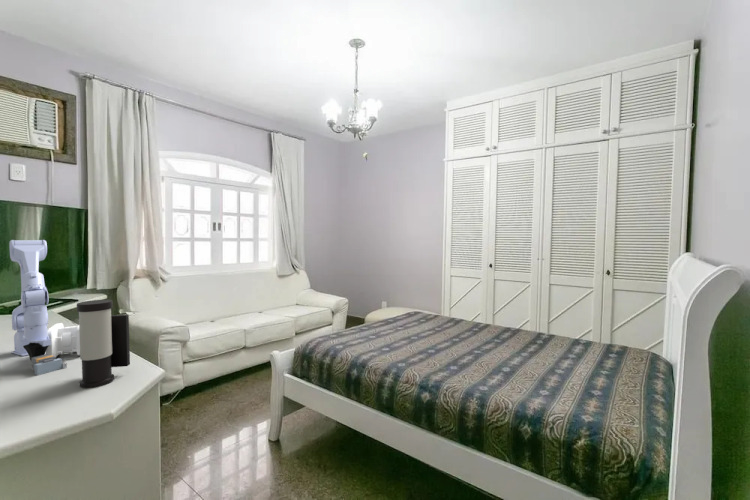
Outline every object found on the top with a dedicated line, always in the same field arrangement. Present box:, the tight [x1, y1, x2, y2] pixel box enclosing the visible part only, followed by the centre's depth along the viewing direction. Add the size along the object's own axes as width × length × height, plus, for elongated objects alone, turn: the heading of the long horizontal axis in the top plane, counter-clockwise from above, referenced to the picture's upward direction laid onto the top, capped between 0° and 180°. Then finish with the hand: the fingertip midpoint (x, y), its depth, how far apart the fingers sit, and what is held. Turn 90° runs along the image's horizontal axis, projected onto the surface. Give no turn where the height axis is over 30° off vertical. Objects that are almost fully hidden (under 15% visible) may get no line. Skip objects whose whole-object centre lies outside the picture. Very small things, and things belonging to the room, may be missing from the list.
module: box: [30, 353, 56, 371], centre depth 117 cm, size 6×4×4 cm
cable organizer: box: [45, 322, 80, 359], centre depth 131 cm, size 15×11×12 cm
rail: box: [62, 361, 68, 369], centre depth 121 cm, size 18×1×2 cm, turn 65°
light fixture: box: [76, 299, 131, 389], centre depth 106 cm, size 12×11×25 cm
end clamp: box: [33, 357, 63, 376], centre depth 115 cm, size 2×6×4 cm, turn 155°
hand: (37, 364), depth 119 cm, fingers closed
